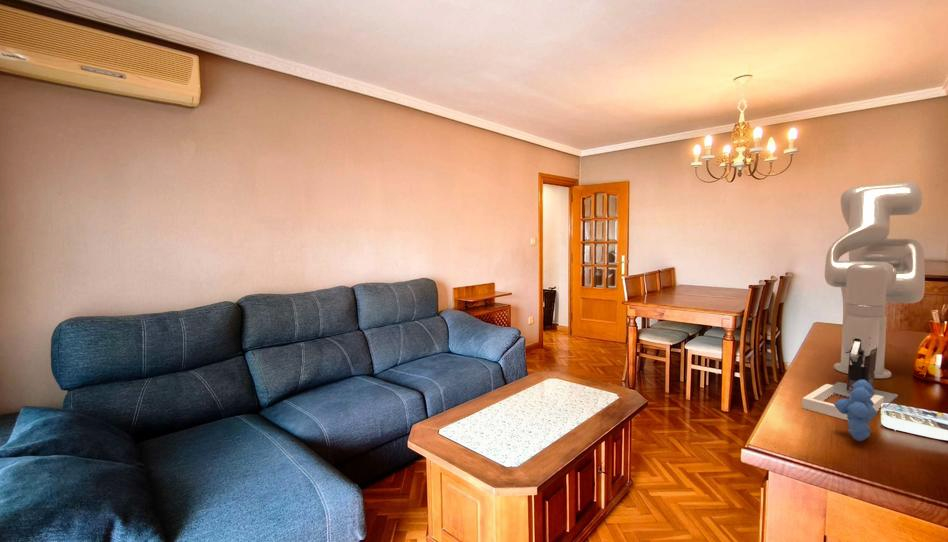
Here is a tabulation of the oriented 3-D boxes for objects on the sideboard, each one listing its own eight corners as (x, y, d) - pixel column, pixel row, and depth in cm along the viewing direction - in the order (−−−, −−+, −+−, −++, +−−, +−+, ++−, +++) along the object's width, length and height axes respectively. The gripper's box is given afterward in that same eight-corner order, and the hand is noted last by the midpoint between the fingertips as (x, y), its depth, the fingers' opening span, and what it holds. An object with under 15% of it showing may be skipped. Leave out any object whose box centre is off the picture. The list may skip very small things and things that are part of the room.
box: (869, 395, 104) (871, 350, 103) (845, 390, 107) (847, 346, 106) (875, 390, 107) (878, 346, 106) (853, 385, 111) (855, 342, 110)
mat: (838, 383, 115) (838, 381, 115) (898, 396, 105) (898, 394, 105) (824, 391, 109) (824, 390, 109) (886, 406, 99) (886, 404, 99)
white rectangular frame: (826, 392, 108) (826, 383, 108) (883, 406, 99) (883, 396, 99) (801, 408, 99) (802, 398, 99) (862, 424, 90) (862, 413, 90)
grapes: (836, 421, 92) (838, 370, 91) (878, 431, 87) (881, 377, 86) (828, 439, 84) (830, 383, 83) (873, 451, 79) (876, 391, 78)
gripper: (855, 305, 113) (852, 368, 115) (834, 313, 104) (831, 381, 105) (893, 308, 107) (890, 375, 108) (874, 317, 98) (871, 389, 99)
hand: (861, 377), depth 107 cm, fingers closed on box, 5 cm apart
